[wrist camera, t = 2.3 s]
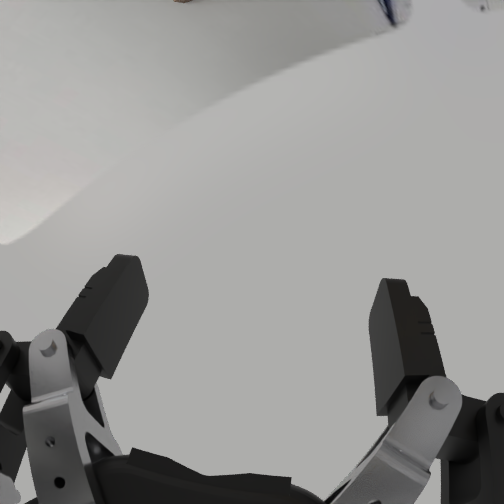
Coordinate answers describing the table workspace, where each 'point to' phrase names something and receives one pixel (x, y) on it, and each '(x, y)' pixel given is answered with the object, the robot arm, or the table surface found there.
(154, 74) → the table surface
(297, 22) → the table surface
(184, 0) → the button board
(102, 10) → the table surface
